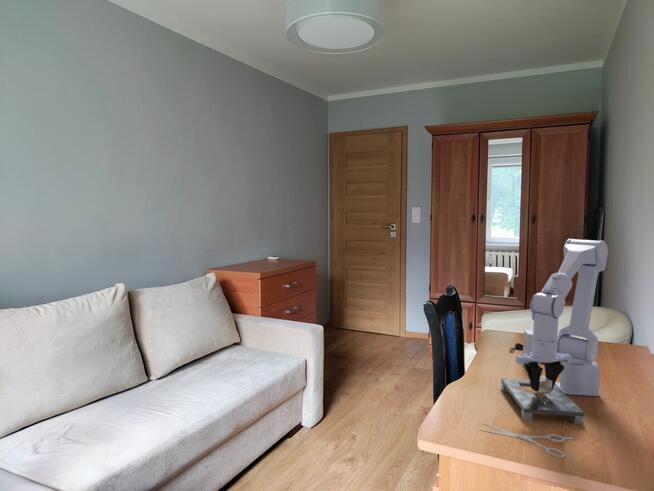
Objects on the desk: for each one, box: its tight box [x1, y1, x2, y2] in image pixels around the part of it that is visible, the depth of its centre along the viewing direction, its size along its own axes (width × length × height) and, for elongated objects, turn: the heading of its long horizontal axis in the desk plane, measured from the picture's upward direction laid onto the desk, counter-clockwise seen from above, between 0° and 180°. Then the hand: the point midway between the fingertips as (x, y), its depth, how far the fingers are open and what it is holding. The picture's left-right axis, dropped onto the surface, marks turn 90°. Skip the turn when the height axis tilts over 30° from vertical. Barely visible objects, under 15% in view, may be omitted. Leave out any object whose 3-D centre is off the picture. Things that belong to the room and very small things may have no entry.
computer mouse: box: [509, 342, 544, 365], centre depth 160 cm, size 12×18×4 cm
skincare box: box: [522, 329, 541, 368], centre depth 147 cm, size 6×4×12 cm
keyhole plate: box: [500, 378, 585, 425], centre depth 119 cm, size 14×20×3 cm
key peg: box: [536, 375, 552, 404], centre depth 117 cm, size 4×4×8 cm
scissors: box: [481, 422, 574, 458], centre depth 101 cm, size 11×1×20 cm
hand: (541, 389), depth 117 cm, fingers closed on key peg, 3 cm apart
